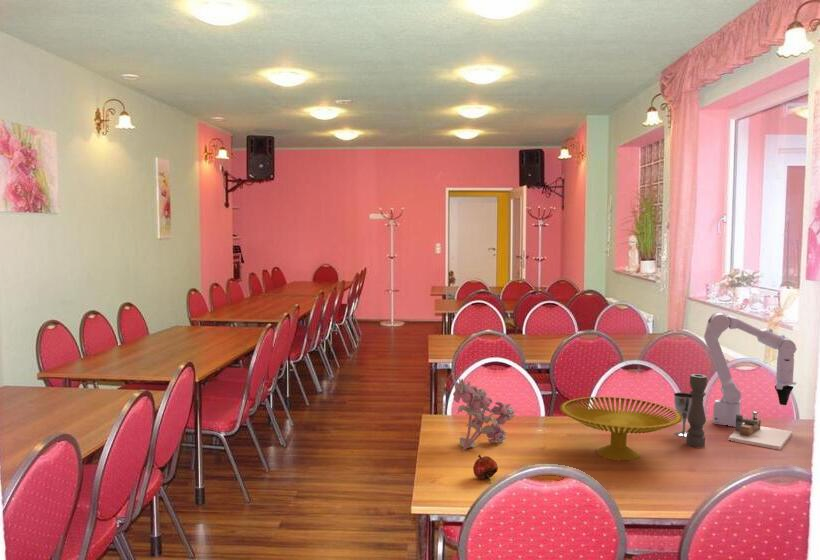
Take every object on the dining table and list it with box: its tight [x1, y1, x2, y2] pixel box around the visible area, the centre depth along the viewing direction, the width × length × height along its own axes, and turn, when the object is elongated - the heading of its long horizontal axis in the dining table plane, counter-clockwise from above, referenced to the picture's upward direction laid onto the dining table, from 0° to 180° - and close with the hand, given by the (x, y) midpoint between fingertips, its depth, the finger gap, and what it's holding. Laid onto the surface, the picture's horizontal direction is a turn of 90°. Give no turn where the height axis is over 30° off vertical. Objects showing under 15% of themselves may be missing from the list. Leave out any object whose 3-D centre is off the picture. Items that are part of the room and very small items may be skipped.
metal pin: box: [751, 410, 760, 420], centre depth 270 cm, size 2×2×3 cm
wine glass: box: [673, 391, 692, 438], centre depth 265 cm, size 8×8×15 cm
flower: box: [452, 378, 517, 452], centre depth 249 cm, size 20×22×25 cm
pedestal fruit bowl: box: [559, 396, 683, 461], centre depth 242 cm, size 40×40×15 cm
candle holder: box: [685, 373, 708, 448], centre depth 252 cm, size 6×6×25 cm
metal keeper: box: [734, 413, 760, 432], centre depth 265 cm, size 8×2×6 cm, turn 53°
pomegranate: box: [472, 454, 499, 484], centre depth 217 cm, size 7×7×10 cm
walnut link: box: [740, 418, 762, 436], centre depth 266 cm, size 15×4×3 cm, turn 139°
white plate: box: [728, 423, 793, 451], centre depth 263 cm, size 17×23×1 cm
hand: (783, 404), depth 274 cm, fingers closed
